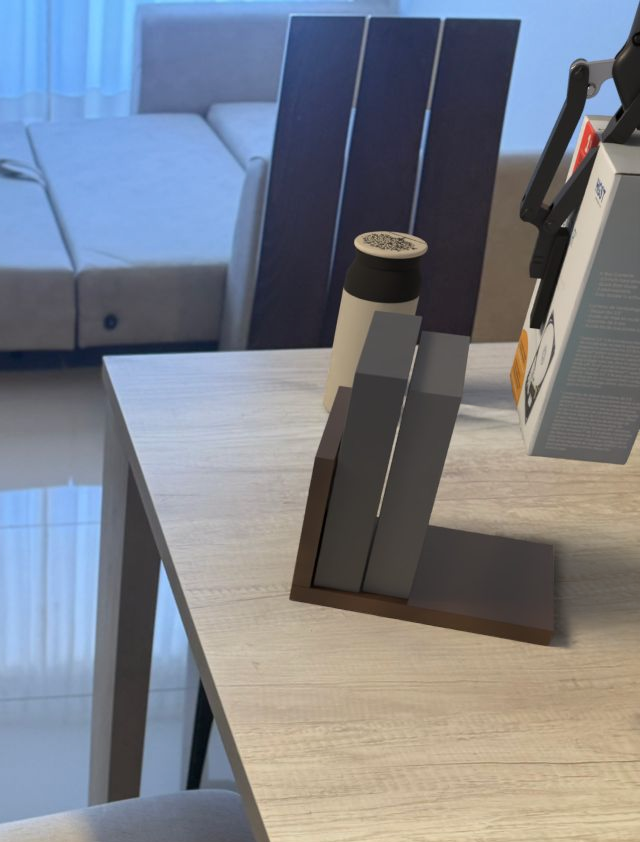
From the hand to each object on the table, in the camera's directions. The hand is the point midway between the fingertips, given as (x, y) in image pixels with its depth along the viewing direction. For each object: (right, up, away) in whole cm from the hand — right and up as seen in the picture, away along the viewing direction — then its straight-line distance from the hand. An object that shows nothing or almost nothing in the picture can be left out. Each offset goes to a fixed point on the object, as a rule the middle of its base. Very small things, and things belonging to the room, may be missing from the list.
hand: (593, 329), depth 88 cm
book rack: (-7, -16, +18) cm, 25 cm away
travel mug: (-6, +9, +44) cm, 46 cm away
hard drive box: (0, -5, +5) cm, 7 cm away
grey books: (-12, -13, +18) cm, 25 cm away
